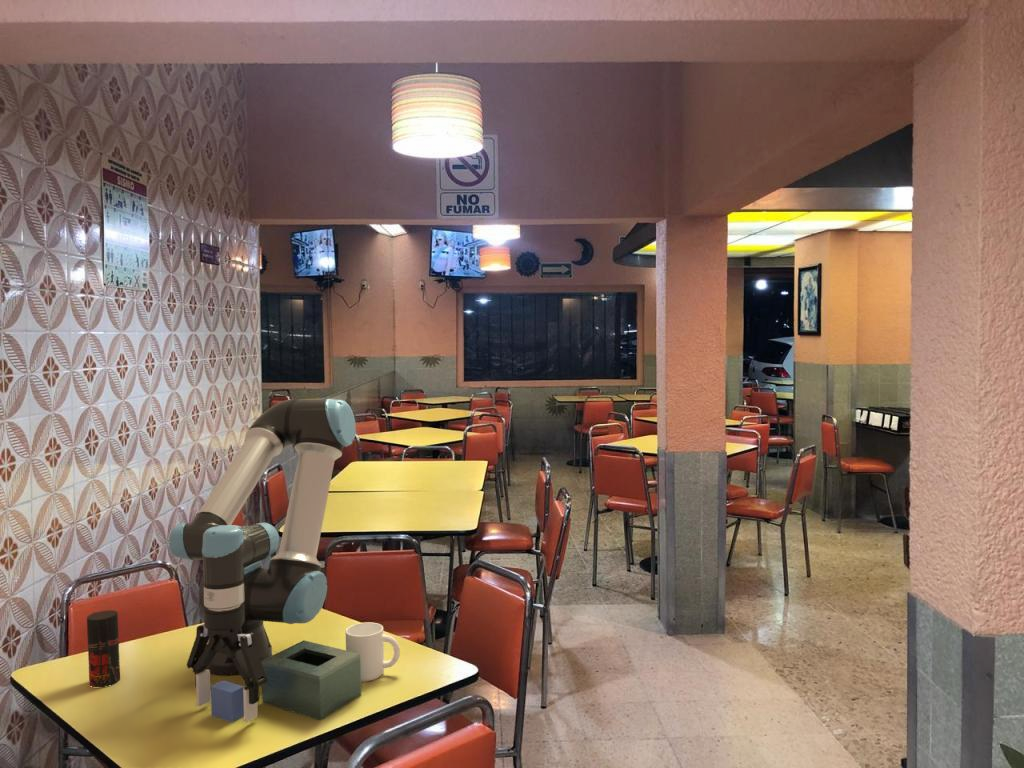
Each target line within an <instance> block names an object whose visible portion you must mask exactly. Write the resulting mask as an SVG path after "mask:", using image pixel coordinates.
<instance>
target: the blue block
mask: <svg viewBox="0 0 1024 768" xmlns="http://www.w3.org/2000/svg"><path fill="white" fill-rule="evenodd" d="M243 688H244V685H239V684H237V683H233V682H230V681H227V680H223V679H222V680H221V681H218V682H217V683H214V684H212V685H210V704H211V705H210V708H211V709H210V710H211V711H210V712H211V717H213V718H217V719H220V720H223V721H227V722H230V723H235V722H236V721H238V720H240V719H241V718H244V699H243Z"/></svg>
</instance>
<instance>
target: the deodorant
mask: <svg viewBox="0 0 1024 768" xmlns="http://www.w3.org/2000/svg"><path fill="white" fill-rule="evenodd" d="M118 616H119V614H118V611H117V610H111V609H110V610H109V609H108V610H100V611H96V612H93V613H91V614H89V615H87V616H86V629H87V630H86V631H87V634H86V635H87V653H88V654H87V655H88V657H87V658H88V678H89V686H92V687H91V688H93V687H103V688H106V687H105V686H107V687H110V686H109V685H111V686H114V685H115V684H117V683H119V682H120V681H121V669H120V668H121V667H120V666H121V665H120V664H121V663H120V662H121V661H120V641H119V640H120V639H119V617H118ZM118 681H119V682H118Z"/></svg>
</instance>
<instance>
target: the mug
mask: <svg viewBox="0 0 1024 768" xmlns="http://www.w3.org/2000/svg"><path fill="white" fill-rule="evenodd" d="M385 643H388V644H389V645H391V646H392V649H393V654H392V658H391V659H390V660H385V649H384V647H385V645H384V644H385ZM400 648H401V647H400V644H399V643H398V641H397V640H396V639H395V637H393V636H391V635H389V634H385V633H384V626H383V624H380V623H376V622H369V621H368V622H359V623H355V624H352V625H350V626H348V627H346V629H345V650H346V651H351V652H355V653H359V654H360V669H361V683H362V682H364V683H365V682H371V681H374V680H377V679H379V678H380V677H381V676H382V675H383V673H385V671H384V670H385V669H387V668H391V667H392V666H394V665H395V664H396V663H397V662H398V661H399V658H400V656H401V655H400V654H401V651H400V650H401V649H400Z"/></svg>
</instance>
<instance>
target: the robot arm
mask: <svg viewBox="0 0 1024 768" xmlns="http://www.w3.org/2000/svg"><path fill="white" fill-rule="evenodd" d="M356 431H357V429H356V419H355V416H354V412H353V410H352V408H351V406H350V405H349V403H347V402H346V401H345V400H343V399H332V398H326V399H325V398H321V399H319V398H314V399H313V398H312V399H311V398H309V399H308V398H306V399H305V398H304V399H303V398H301V399H299V398H290V399H286V400H283V401H280V402H278V403H276V404H274V405H273V406H271V407H270V408H268V409H266V410H265V411H264V412H263V413H262V414H261V415H260V416H258V418H256V419H255V421H254V422H253V423H252V424H251V425H250V427H249V429H248V430H247V431H246V433H245V434H244V435H245V436H244V438H245V439H244V440H245V442H244V444H243V445H242V446H241V448H240V450H239V451H238V452H237V454H236V455H235V457H234V459H233V460H232V461H231V463H230V464H229V465H228V467H227V469H226V470H225V472H224V473H223V475H222V476H221V478H220V479H219V480H218V482H217V483H216V485H215V487H214V488H213V490H212V491H211V493H210V494H209V496H207V499H206V500H205V501H204V503H203V505H202V506H201V507H200V509H199V510H198V512H197V514H196V515H195V516H194V518H193V519H192V521H191V522H183V523H179V524H177V525H176V526H174V528H172V530H171V532H170V534H169V537H168V548H169V551H170V553H171V554H172V555H173V556H174V557H175V558H178V559H183V560H184V559H185V560H189V561H194V560H195V561H197V560H198V561H202V566H203V567H202V568H203V569H202V570H203V605H204V607H205V608H204V609H203V624H201V625H198V626H197V627H196V633H195V634H196V635H195V639H194V642H193V645H192V647H191V651H190V653H189V656H188V659H187V662H186V667H187V669H191V670H192V673H194V685H195V690H196V696H195V697H196V707H198V708H199V707H200V708H201V707H202V706H204V705H206V704H208V703H211V674H214V675H221V676H223V675H224V676H228V675H238V674H239V675H240V676H241V679H242V681H243V682H244V685H245V687H244V688H243V699H244V716H243V722H245V723H247V722H249V721H252V720H253V719H255V718H257V717H258V702H260V701H259V700H260V695H259V694H260V691H259V690H260V688H259V687H260V686H262V684H264V683H266V682H267V677H266V674H265V672H264V669H263V666H262V663H261V661H262V660H264V659H266V658H268V657H270V656H272V655H273V647H272V644H271V642H270V639H269V636H268V633H267V631H266V629H265V626H264V625H265V624H264V622H270V623H271V622H272V623H283V624H288V625H293V624H308V623H310V622H311V621H313V620H314V619H315V617H316V616H317V615H318V614H319V613H320V612H321V610H322V608H323V606H324V604H325V601H326V597H327V592H328V585H327V582H328V581H327V576H326V575H325V574H324V573H323V572H321V569H322V564H321V563H320V562H319V560H318V559H317V555H318V549H319V546H320V545H319V544H320V540H321V539H320V538H321V534H322V528H323V522H324V517H325V512H326V508H327V502H328V496H329V491H330V485H331V481H332V475H333V470H334V465H335V461H337V460H338V459H339V458H341V457H342V456H343V452H344V451H343V450H344V448H345V447H348V446H349V447H350V446H351V445H352V444H353V442H354V440H355V439H356V438H355V437H356ZM288 446H294V450H295V451H296V453H297V454H298V460H297V464H296V470H295V474H294V478H293V483H292V487H291V492H290V497H289V502H288V507H287V512H286V515H285V522H284V526H283V531H282V536H281V540H280V535H279V531H278V530H277V529H276V527H274V526H273V525H272V524H271V523H268V522H259V523H253V524H251V525H236V524H233V523H234V521H235V519H236V518H237V517H238V514H239V513H240V511H241V510H242V508H243V507H244V505H245V503H246V502H247V500H248V498H249V497H250V495H251V494H252V492H253V491H254V489H255V487H256V485H257V484H258V483H259V481H260V479H261V477H262V476H263V474H264V473H265V471H266V469H267V468H268V466H269V465H270V463H271V461H272V460H273V458H274V457H277V456H279V455H280V454H281V453H282V452H283V450H284V448H286V447H288ZM277 549H278V552H277V554H275V555H274V553H275V552H276V551H277ZM271 555H274V556H272V557H271V558H270V560H269V564H268V568H264V567H263V563H262V561H264V560H266V559H267V558H268V557H270V556H271Z"/></svg>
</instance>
